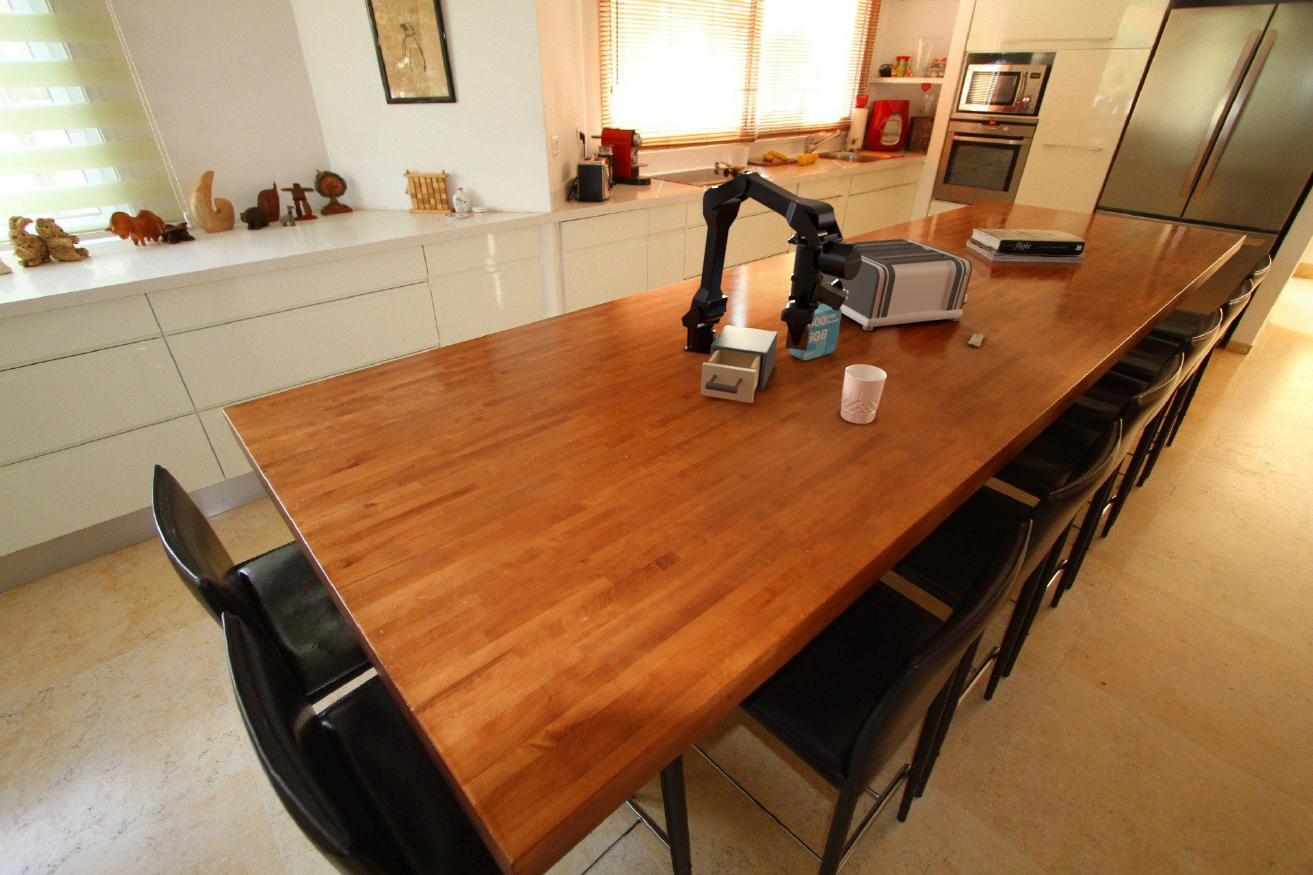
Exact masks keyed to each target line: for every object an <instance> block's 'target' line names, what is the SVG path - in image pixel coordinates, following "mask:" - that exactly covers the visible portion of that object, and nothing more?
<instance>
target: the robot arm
mask: <svg viewBox="0 0 1313 875" xmlns="http://www.w3.org/2000/svg"><path fill="white" fill-rule="evenodd" d="M749 199H752V200H754V201H755V202H757V203H759V204H760V205H763V206H764V207H765V208H767V209H769V210H771V211H773V212H774V213H776V214H778V215H780V216H782V217H783V218H784V219H785V220H786V222H787V225H788V226H789V227H790V228H791V229H792V230H793V231H794V232H795V234H794V235H793V236H791V237H790V238H789V239H787V244H790V245H795V253H794V254H795V255H794V262H793V270H792V274H791V276H790V281H791V285H790V292H789V294H788V299H787V300H788V301H789V302H788V303H787V304H785V305H784V306H783V308H782V309H781V314H780V321H781V322H785V324H786V326H787V331H788V330H789V332H790V336H791V339H792V342H793V345H797V346H798V345H799V343H800V340H801V337H802V334H803V331H804V329H805V326H806V325H807V324H808V325H809V324H812V322H813V320H814V315H815V310H817V309H818V307H819V305H820V303H821V304H825V305H827V306H829V307H831V308H832V309H833V310H835V311H839V309H840V308H841V306H842V304H843V303H844V301H845V299H846V298H847V294H848V293H847V292H846V291H847V290H843V287H844V282H843V281H841V280H839V279H837V280H836V281H834V282H833V283H831V282H829V283H827V282H825V281H823V277H824V275H822V274H826V275H829V276H833V277H837V278H841V279H845V280H852V279H854V278H855V277H856V275H857V274H858V272H859V270H860V268H861V264H862V260H861V253H860V251H859V250H858V246H859V244H858V243H854V242H855V241H852V242H850V241H844V236H843V234H842V231H841V229H840V226H839V223H838V222H837V219H836V214H835V208H834V207H833V206H832V204H831V203H829V202H825V201H821V200H819V199H815V198H807V197H802V196H799V195H797V194H795V193H793V192H791V191H789V190H788V189H785V188H783V187H782V186H780V185H778V184H776V183H775V182H772V181H770V180H769V179H767V178H765V177H763V176H761V174H760V173H758V172H755V171H750V172H742V173H740V174H738V175H736V176H735V177H733V178H732V179H731V180H728V181H726V182H724V183H722V184H719V185H717V186H711V187H708V188H707V189H706V191H704V193H703V196H702V216H703V218H704V221H705V224H706V226H707V228H706V229H707V230H706V237H705V245H704V255H703V260H702V268H701V269H702V270H701V278H700V285H699V288H698V289H697V290H696V292H695V294H694V295H693V297H692V299H691V304H690V308H689V310H688V311H687V312H686V313H685V314H684V315H683V316H681V323H682V326H683V327H684V328H687V331H686V333H687V334H686V346H685V347H684V351H689V352H697V353H703V354H710V353H711V345H712V343H713V342H714V341H715V339H716V338H717V337H716V336H717V330H715V325H719V323H720V321H721V319H722V318H723V317H724V316H725V313H726V312H727V311H728V310H727V304H728V301H729V298H728V296H727V295H724V293H723V291H722V282H723V281H722V280H723V273H724V268H725V267H724V266H725V260H726V254H727V246H728V241H729V232H730V228H731V227H732V225H733V224H734V222H735V220H736V219H737V217H738V215H739V211H740V208H741V205H742V203H743V202H745V201H748V200H749ZM821 234H822V235H821ZM849 242H850V243H849ZM790 301H791V302H790Z"/></svg>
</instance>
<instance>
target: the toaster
mask: <svg viewBox="0 0 1313 875" xmlns="http://www.w3.org/2000/svg"><path fill="white" fill-rule="evenodd" d="M848 242H849V243H850V241H848ZM853 242H854V243H858V244H859V246H858V250H859V251H860V253H861V260H862V264H861V268H860V270H859V272H858V274H857V275H856V277H855V278H854V279H852V280H845V279H841V278H837V277H833V276H829V275H826V274H822V275H824V277H823V281H825V282H827V283H829V282H834V281H836V280H837V279H839V280H841V281H843V282H844V287H843V290H847V291H846V292H847V293H848V294H847V298H846V299H845V301H844V303H843V304H842V306H841V308H840V309H841V310H842V314H843V315H844V316H847V317H848V318H850V319H852V320H854V321H855V322H857V323H858V324H860V325H862V329H863V330H864V331H866V332H867V331H868V332H869V331H873V329H874V327H882V326H893V325H902V324H911V323H921V322H929V321H938V320H948V321H950V322H958V320H959V318H960V317H962V315H963V313H964V310H963V305H964V301H965V298H966V294H967V291H968V287H969V283H970V280H971V276H972V273H973V265H972V262H971V260H969V259H967V258H966V257H962V256H960V255H956V254H953V253H951V252H947V251H946V250H942V249H939V248H936V247H933V246H931V245H927V244H924V243H922V242H919V241H917V240H916V241H915V240H913V239H912V240H911V239H910V240H906V239H903V238H893V239H882V240H881V239H880V240H866V241H865V240H864V241H853ZM966 273H967V275H966Z"/></svg>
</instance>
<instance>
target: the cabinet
mask: <svg viewBox="0 0 1313 875" xmlns="http://www.w3.org/2000/svg"><path fill="white" fill-rule="evenodd" d="M778 334H779V332H778V331H775V330H767V329H760V328H751V327H743V326H737V325H727V324H726V325H725V326H724V327H723V329H722V330H721V331H720V333H719V334H718V335H717V337H716V338H715V341H714V342H713V343H712V345H711V351H710V355H709V356H710V357H709V359H710V358H711V357H712V356H713V354H714V353H715V351H716V350H717V349H721V350H728V351H735V352H743V353H750V354H757V355H763V360H762V369H761V379H760V381H759V383H758V385H757V387H756V389H755V390H760V391H761V390H762V391H763V390H764V387H765V386H766V384H767V382H768V380H769V377H770V375H771V373H772V371H773V369H774V366H775V359H776V350H777V341H778Z"/></svg>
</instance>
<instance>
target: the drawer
mask: <svg viewBox="0 0 1313 875" xmlns="http://www.w3.org/2000/svg"><path fill="white" fill-rule="evenodd" d="M762 360H763V355H757V354H750V353H743V352H735V351H728V350H721V349H717V350H716V351H715V353H714V354H713V356H712V357H711V358H710V357H709V360H708V362H706V361H703V363H702V364H701V365H702V366H701V368H702V369H701V385H700V386H701V387H700V395H701V396H707V397H713V398H719V399H726V400H731V401H737V402H743V403H749V404H753V402H754V396H755V391H756V390H757V389H756V387H757V385H758V383H759V381H760V379H761V369H762Z"/></svg>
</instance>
